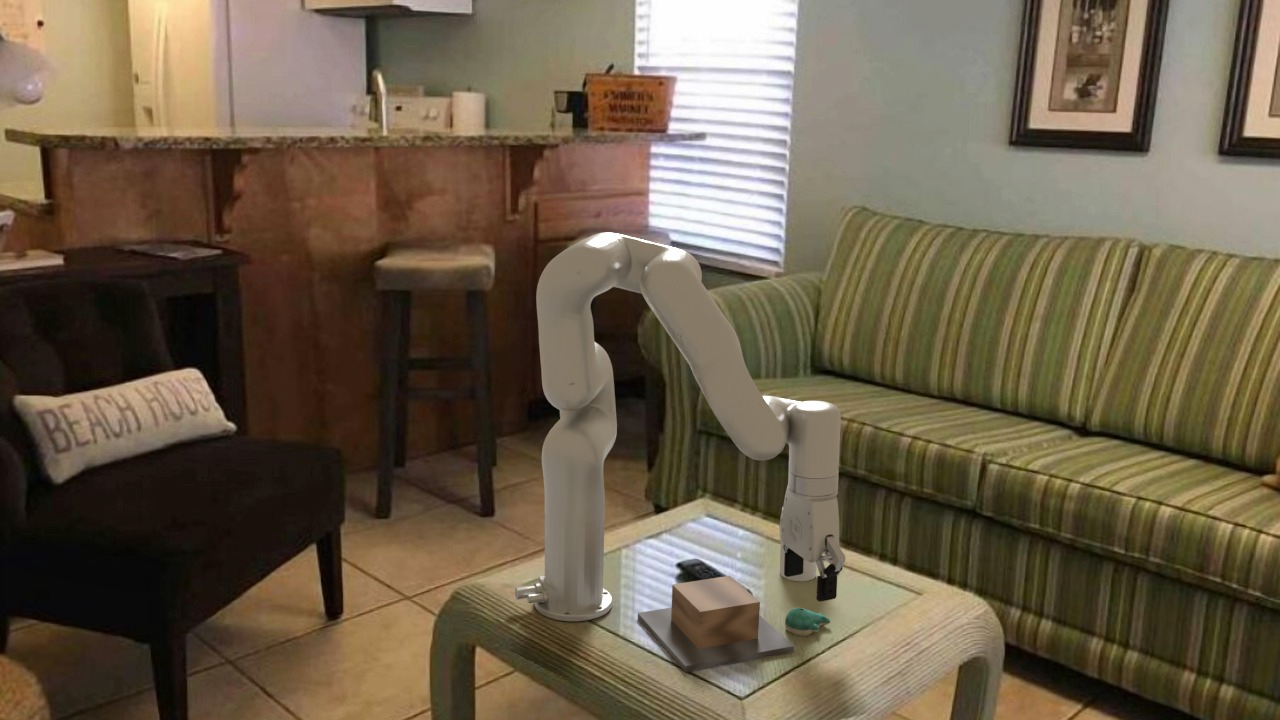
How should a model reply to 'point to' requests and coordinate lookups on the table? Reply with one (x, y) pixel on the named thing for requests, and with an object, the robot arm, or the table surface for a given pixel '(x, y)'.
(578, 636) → the table surface
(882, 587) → the table surface
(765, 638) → the display plinth
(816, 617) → the whale figurine
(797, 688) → the table surface
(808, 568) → the mug
